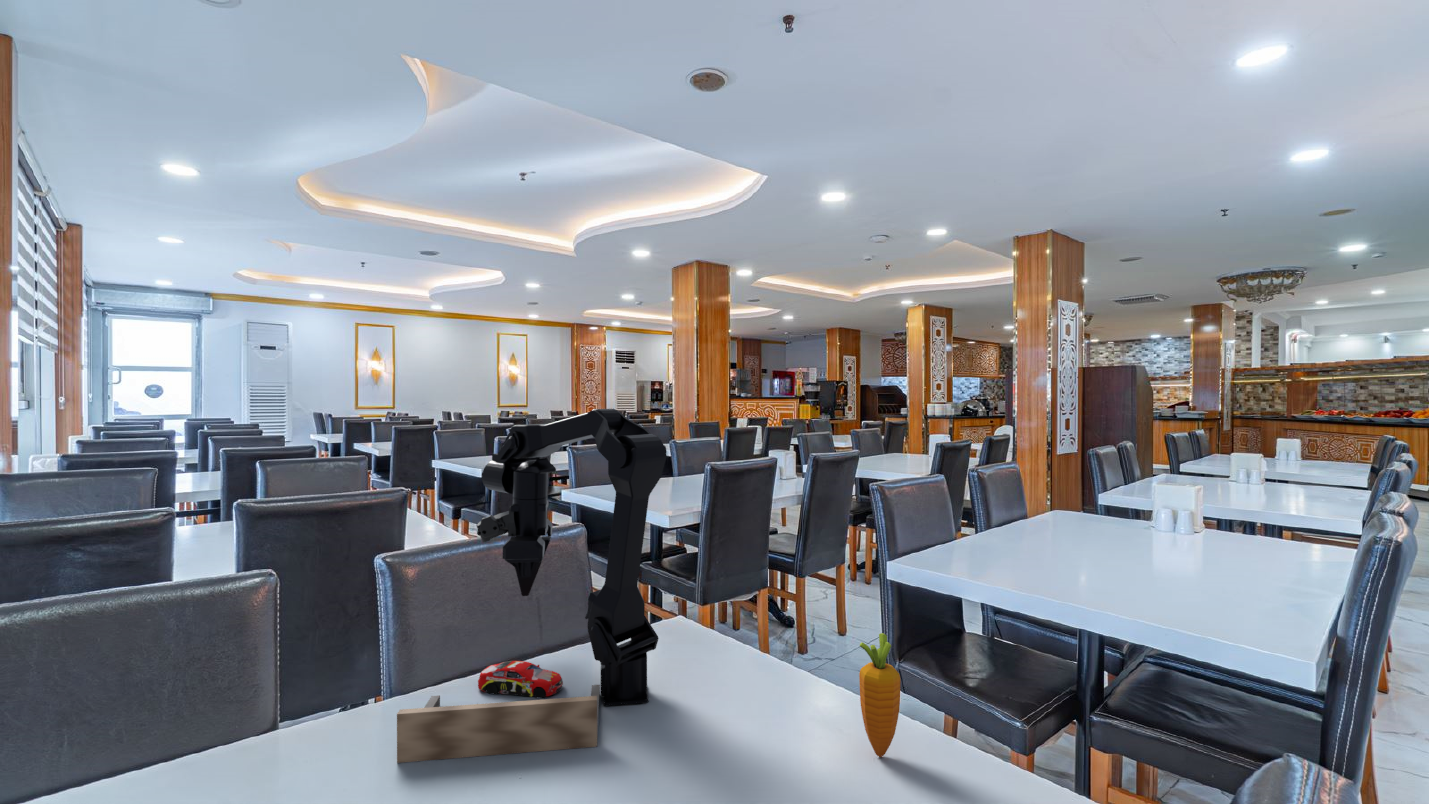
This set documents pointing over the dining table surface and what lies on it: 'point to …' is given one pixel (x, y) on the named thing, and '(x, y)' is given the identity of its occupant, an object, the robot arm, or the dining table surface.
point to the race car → (519, 679)
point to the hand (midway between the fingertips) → (528, 587)
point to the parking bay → (497, 728)
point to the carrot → (879, 696)
